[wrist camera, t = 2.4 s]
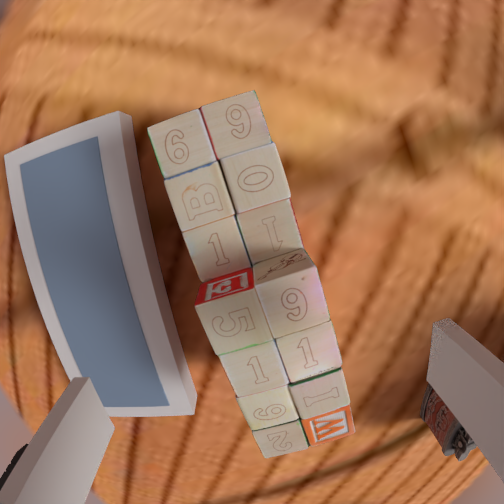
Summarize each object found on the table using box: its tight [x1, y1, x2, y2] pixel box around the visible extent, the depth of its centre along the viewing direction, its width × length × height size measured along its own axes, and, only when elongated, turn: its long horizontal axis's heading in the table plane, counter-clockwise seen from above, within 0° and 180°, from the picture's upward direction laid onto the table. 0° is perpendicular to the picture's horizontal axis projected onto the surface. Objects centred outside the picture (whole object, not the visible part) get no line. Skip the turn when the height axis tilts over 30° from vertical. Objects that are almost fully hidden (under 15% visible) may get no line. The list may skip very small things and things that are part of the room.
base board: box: [4, 111, 197, 417], centre depth 26 cm, size 27×12×3 cm, turn 9°
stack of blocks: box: [147, 90, 355, 458], centre depth 21 cm, size 21×6×12 cm, turn 17°
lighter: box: [420, 384, 477, 461], centre depth 27 cm, size 8×3×10 cm, turn 2°
